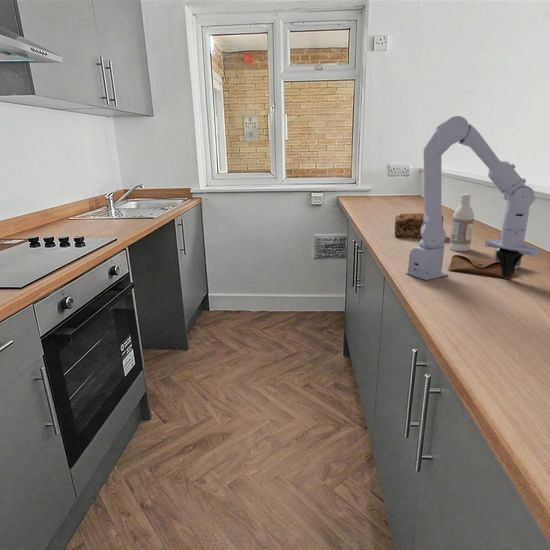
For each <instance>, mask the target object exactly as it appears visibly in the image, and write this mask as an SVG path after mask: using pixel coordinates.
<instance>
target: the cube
mask: <svg viewBox="0 0 550 550" xmlns="http://www.w3.org/2000/svg"><path fill="white" fill-rule="evenodd" d="M494 249H495V250H494V256H493V260H495V261H499V258H498V256H497V251H499V250H500V249H498V248H494ZM522 260H523V256H522V257H521V259H520V260H519V261H518V262H517V264H516V265H515V269H518V267H519V268H521V266H522Z"/></svg>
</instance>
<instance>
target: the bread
mask: <svg viewBox="0 0 550 550" xmlns="http://www.w3.org/2000/svg"><path fill="white" fill-rule="evenodd" d="M394 220H395V221H394V238H396V239H398V238H402V239H409V238H412V240H416V239H417V240H421V239H422V236H421V233H420V229H421V226H422V224H423V221H424V212H422V213H420V212H419V213H400V214H398V215H397V216H396V217H395V219H394ZM442 226H444V215H443V214H442Z"/></svg>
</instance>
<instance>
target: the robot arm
mask: <svg viewBox="0 0 550 550" xmlns="http://www.w3.org/2000/svg"><path fill="white" fill-rule="evenodd" d="M456 143H458V144H460V145H463V146H465V147H469V148H470V149H471V151H473V152H474V153H475V155H476V156H477V157H478V158H479V160H481V161H482V163H483V164H484V165H485V166H486V167H487V168H488V173H487V177H488V178H489V179H490V181H491V183H493V184H494V185H495V187H496V188H497V189H498V190H499V191H500V192H501V194H503V196H504V197H503V198H504V200H505V201H506V204H505V205H506V206H505V211H504V215H503V216H504V217H503V223H502V228H501V235H500V240H496V239H491V238H490V239H489V238H488V239H485V242H484V247H487V248H488V247H490V248H494V249H500V250H499V251H497V256H498V258H499V261H500V264H501V269H502V276H505V277H508V276H511V273H512V271H513V269H514V267H515V265H516V264H517V262H518V261H519V260H520V259H521V257H522V258H523V256H524V255H527V256H530V257H532V258H536V257H540V253H541V252H540V250H541V249H540V248H535V247H532V246H530V245H526V244H524V243H525V238H526V234H527V233H526V232H527V226H528V220H529V215H530V213H529V212H530V209H531V208H530V206H531V205H532V204H533V203H534V202H535V199H536V196H535V192H534V190H533V188H531V186H528V185H526V184H525V183H527V180H526V178H524V177H523V178H522V177H521V176H520V174H519V173H518V172H517V171H516V170H515V169H516V165H515V164H514V163H510V161H505V160H504V161H503V160H500V159H499V157H498V156H497V155H496V153H495V152H494V150H493V149H492V148H491V147H490V145H489V144H488V142H487V141H486V140H485V139H484V136H482V135H481V133H480V132H479V131H478V130H477V129H476V127H474V126H473V125H472V124H471V123H470V124H469V121H468V120H467V119H466V118H465V117H464V116H460V115H454V116H451V117H449V118H447V119H445V120H444V121H442V123H440V124H439V125H438V126H437V127H436V128H435V130H434V131H433V133H432V135H431V136H430V138H429V139H428V141H427V143H426V144H425V146H424V148H423V150H422V151H423V153H422V154H423V213H424V221H423V224H422V226H421V229H420V233H421V236H422V239H420V241H418V243H417V244H418V245H417V246H416V247H415V248H413V249H411V250H410V252H409V256H408V265H407V266H408V267H407V268H408V269H407V271H405V274H406V273H407V275H409V276H413V277H415V278H418V279H422V280H424V281H428V280H433V279H437V278H441V277H445V276H448V275H449V273H447V272H444V271H443V265H444V262H443V261H444V253H445V241H446V238H447V233H446V231H445V229H444V227H443V226H444V225H443V226H442V215H443V214H442V155H443V154H444V153H445V152H446V151H447V150H448V149H449V148H450V147H451V146H454V144H456Z"/></svg>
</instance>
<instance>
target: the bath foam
mask: <svg viewBox="0 0 550 550" xmlns="http://www.w3.org/2000/svg"><path fill="white" fill-rule="evenodd" d="M470 203H471V194H470V193H462V194H461V196H460V204H459V205H458V206H457V208H456V209H455V211H454V213H453V214H452V215H453V216H452V220H451V231H450V236H449V237H450V239H449V245H448V247H449V249H450V250H452V251H455V252H468V251H470V250H471V249H470V248H471V244H472V237H473V229H474V221H475V215H474V214H475V213H474V211H473V208H472V207H471V205H470Z"/></svg>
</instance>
